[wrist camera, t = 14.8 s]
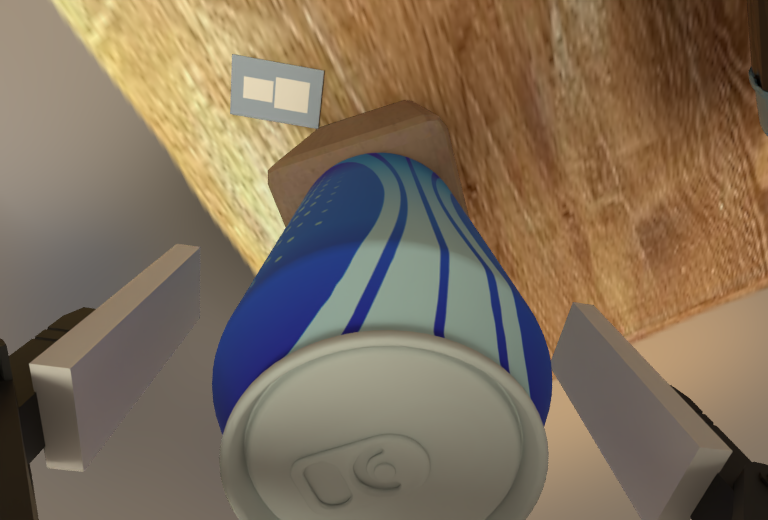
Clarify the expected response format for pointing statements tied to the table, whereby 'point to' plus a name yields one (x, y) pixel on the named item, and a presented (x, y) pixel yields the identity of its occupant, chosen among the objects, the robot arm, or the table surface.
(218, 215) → the table surface
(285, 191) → the block
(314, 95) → the card
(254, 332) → the beer can
